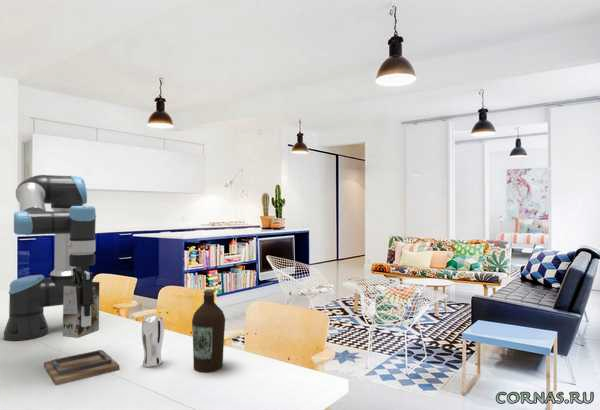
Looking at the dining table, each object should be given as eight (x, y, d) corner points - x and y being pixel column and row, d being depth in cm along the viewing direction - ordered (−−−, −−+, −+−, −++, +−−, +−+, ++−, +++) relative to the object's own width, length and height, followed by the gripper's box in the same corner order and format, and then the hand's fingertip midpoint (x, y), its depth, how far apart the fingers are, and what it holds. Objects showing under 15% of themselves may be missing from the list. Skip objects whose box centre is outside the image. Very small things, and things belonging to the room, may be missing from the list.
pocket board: (43, 366, 136) (43, 358, 136) (102, 354, 148) (102, 346, 148) (55, 385, 123) (55, 376, 123) (119, 369, 135) (119, 361, 135)
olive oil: (202, 359, 144) (203, 286, 144) (230, 363, 141) (230, 289, 141) (185, 370, 134) (185, 293, 134) (214, 375, 131) (215, 295, 131)
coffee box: (78, 338, 130) (79, 286, 130) (61, 336, 132) (62, 285, 132) (100, 330, 139) (100, 281, 139) (83, 328, 140) (84, 280, 140)
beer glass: (167, 361, 142) (168, 317, 142) (154, 369, 135) (154, 322, 135) (150, 359, 144) (151, 315, 144) (136, 366, 137) (137, 320, 137)
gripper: (61, 251, 141) (61, 317, 141) (78, 257, 125) (77, 332, 125) (85, 249, 146) (85, 313, 146) (105, 255, 129) (104, 328, 129)
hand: (81, 322), depth 135 cm, fingers closed on coffee box, 9 cm apart
